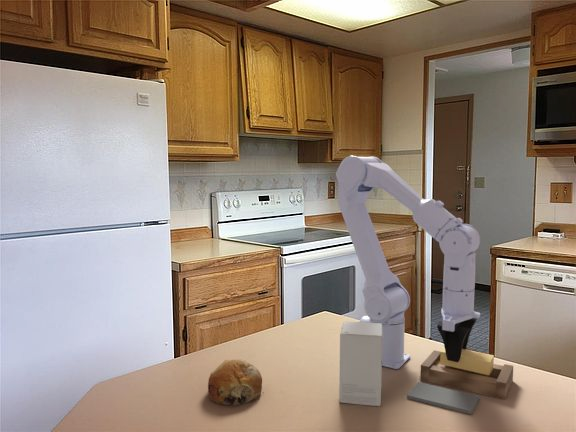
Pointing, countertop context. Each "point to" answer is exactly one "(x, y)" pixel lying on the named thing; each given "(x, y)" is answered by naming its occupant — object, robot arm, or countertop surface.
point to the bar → (470, 361)
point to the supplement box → (360, 363)
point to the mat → (444, 397)
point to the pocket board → (468, 377)
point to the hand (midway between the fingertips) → (456, 356)
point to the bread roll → (234, 383)
